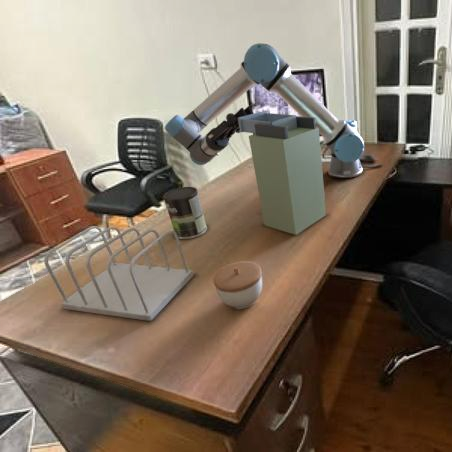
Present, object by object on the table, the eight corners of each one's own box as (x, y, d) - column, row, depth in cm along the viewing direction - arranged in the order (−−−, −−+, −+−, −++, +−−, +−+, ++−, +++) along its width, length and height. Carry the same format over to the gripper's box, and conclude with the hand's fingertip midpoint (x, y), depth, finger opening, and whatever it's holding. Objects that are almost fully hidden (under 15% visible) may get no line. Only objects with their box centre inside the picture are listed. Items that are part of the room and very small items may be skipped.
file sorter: (63, 309, 85) (33, 256, 77) (117, 268, 100) (96, 220, 92) (151, 321, 79) (127, 264, 72) (194, 276, 94) (178, 224, 86)
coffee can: (184, 242, 110) (171, 202, 104) (169, 233, 117) (157, 194, 110) (213, 229, 117) (203, 190, 110) (198, 221, 123) (187, 184, 117)
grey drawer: (299, 127, 109) (297, 112, 107) (271, 136, 101) (269, 120, 98) (243, 121, 123) (240, 108, 121) (215, 129, 115) (212, 115, 113)
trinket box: (255, 318, 78) (248, 284, 73) (212, 313, 80) (202, 280, 76) (272, 287, 87) (266, 256, 83) (233, 284, 89) (225, 253, 85)
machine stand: (326, 215, 121) (317, 116, 105) (295, 235, 110) (281, 128, 94) (295, 206, 129) (283, 114, 113) (263, 224, 118) (245, 124, 102)
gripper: (236, 145, 133) (270, 117, 117) (203, 156, 123) (234, 127, 106) (226, 127, 132) (259, 96, 116) (192, 137, 122) (222, 104, 105)
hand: (247, 111), depth 111 cm, fingers closed on grey drawer, 2 cm apart
